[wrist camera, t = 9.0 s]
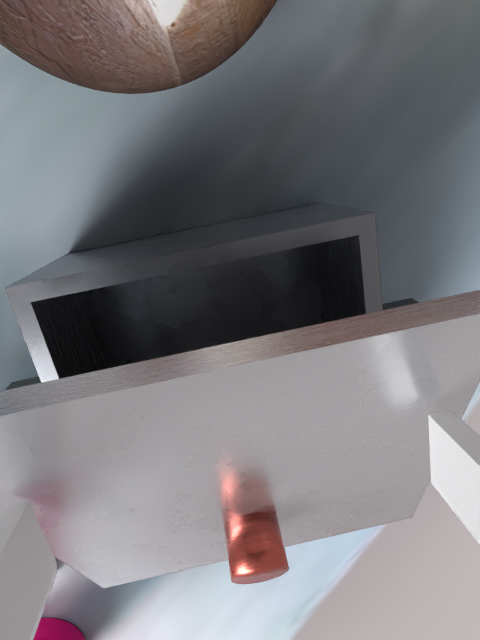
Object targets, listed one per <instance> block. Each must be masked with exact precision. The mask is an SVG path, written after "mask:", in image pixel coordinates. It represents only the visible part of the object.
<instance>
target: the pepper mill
mask: <svg viewBox="0 0 480 640" xmlns="http://www.w3.org/2000/svg"><path fill="white" fill-rule="evenodd" d="M33 640H85V639H84V637H83V634H82V633H81V631H80V630H79V629H78V628H77V627H76V626H74V625H73V624H71V623H69V622H67V621H64V620H61V619H54V618H41V619H40V622H39V625H38V628H37V630H36V633H35V636H34V639H33Z"/></svg>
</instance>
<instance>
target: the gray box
mask: <svg viewBox="0 0 480 640" xmlns="http://www.w3.org/2000/svg"><path fill="white" fill-rule="evenodd" d="M5 290H6V292H7V295H8V297H9V300H10V303H11V305H12V308H13V310H14V313H15V315H16V318H17V321H18V323H19V326H20V328H21V331H22V334H23V336H24V339H25V341H26V344H27V346H28V349H29V352H30V354H31V357H32V359H33V362H34V365H35V367H36V370H37V372H38V375H39V377H35V378H30V379H25V380H21V381H16V382H12V383H11V384H10V385H9V386H8V387H7V388H6V390H9V389H14V388H18V387H23V386H28V385H33V384H37V383H42V382H47V381H51V380H56V379H61V378H66V377H70V376H75V375H80V374H85V373H89V372H94V371H99V370H103V369H108V368H113V367H118V366H122V365H127V364H132V363H137V362H141V361H146V360H151V359H156V358H160V357H165V356H170V355H174V354H179V353H184V352H189V351H193V350H198V349H203V348H208V347H212V346H217V345H222V344H226V343H231V342H236V341H241V340H245V339H250V338H255V337H260V336H264V335H269V334H274V333H279V332H283V331H288V330H293V329H297V328H302V327H307V326H312V325H316V324H321V323H326V322H331V321H335V320H340V319H345V318H349V317H354V316H359V315H364V314H368V313H373V312H378V311H383V310H387V309H392V308H397V307H402V306H406V305H411V304H416V303H419V302H417V301H415V300H413V299H411V298H410V299H405V300H400V301H395V302H391V303H386V304H382V295H381V282H380V268H379V255H378V242H377V229H376V216H375V213H374V212H368V211H362V210H356V209H350V208H344V207H338V206H332V205H326V204H321V203H315V204H310V205H306V206H301V207H296V208H291V209H286V210H281V211H276V212H271V213H266V214H261V215H256V216H251V217H246V218H241V219H236V220H231V221H226V222H221V223H216V224H211V225H206V226H201V227H196V228H191V229H186V230H181V231H176V232H171V233H167V234H162V235H157V236H152V237H147V238H142V239H137V240H132V241H127V242H122V243H117V244H112V245H107V246H102V247H97V248H92V249H87V250H82V251H77V252H72V253H68V254H66V255H64V256H62V257H61V258H59V259H57V260H55V261H53V262H51V263H50V264H48V265H46V266H44V267H42V268H40V269H39V270H37V271H35V272H33V273H31V274H30V275H28V276H26V277H24V278H22V279H20V280H19V281H17V282H15V283H13V284H11V285H9V286H8V287H6V288H5Z"/></svg>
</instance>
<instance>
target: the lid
mask: <svg viewBox="0 0 480 640" xmlns="http://www.w3.org/2000/svg"><path fill="white" fill-rule="evenodd" d="M479 382H480V290H477V291H472V292H468V293H463V294H458V295H454V296H449V297H444V298H439V299H435V300H430V301H425V302H420V303H416V304H411V305H406V306H402V307H397V308H392V309H387V310H383V311H378V312H373V313H368V314H364V315H359V316H354V317H349V318H345V319H340V320H335V321H331V322H326V323H321V324H316V325H312V326H307V327H302V328H297V329H293V330H288V331H283V332H279V333H274V334H269V335H264V336H260V337H255V338H250V339H245V340H241V341H236V342H231V343H226V344H222V345H217V346H212V347H208V348H203V349H198V350H193V351H189V352H184V353H179V354H174V355H170V356H165V357H160V358H156V359H151V360H146V361H141V362H137V363H132V364H127V365H122V366H118V367H113V368H108V369H103V370H99V371H94V372H89V373H85V374H80V375H75V376H70V377H66V378H61V379H56V380H51V381H47V382H42V383H37V384H33V385H28V386H23V387H18V388H14V389H9V390H4V391H0V514H1V512H2V511H3V509H4V507H5V506H6V505H11V504H15V503H20V502H25V501H29V500H30V503H31V505H32V507H33V510H34V512H35V514H36V517H37V519H38V521H39V524H40V526H41V528H42V530H43V533H44V535H45V537H46V540H47V542H48V544H49V547H50V549H51V551H52V554H53V556H54V557H56V558H57V559H59V560H60V561H62V562H63V563H65V564H67V565H68V566H70V567H71V568H73V569H74V570H76V571H77V572H79V573H81V574H82V575H84V576H85V577H87V578H88V579H90V580H91V581H93V582H94V583H96V584H98V585H99V586H101V587H102V588H108V587H112V586H117V585H121V584H125V583H130V582H134V581H138V580H143V579H147V578H152V577H156V576H160V575H165V574H169V573H173V572H178V571H182V570H186V569H191V568H195V567H200V566H204V565H208V564H213V563H217V562H221V561H226V560H229V566H230V573H231V580H232V582H233V583H236V584H252V583H258V582H263V581H267V580H270V579H273V578H276V577H278V576H281V575H282V574H284V573H286V572H287V571H288V569H289V566H288V562H287V558H286V553H285V549H284V547H287V546H291V545H296V544H300V543H304V542H309V541H313V540H317V539H322V538H326V537H331V536H335V535H339V534H344V533H348V532H352V531H357V530H361V529H365V528H370V527H374V526H379V525H383V524H387V523H392V522H396V521H400V520H404V519H409V518H412V517H413V515H414V513H415V511H416V508H417V506H418V505H419V503H420V501H421V499H422V497H423V495H424V493H425V491H426V489H427V487H428V485H429V482H430V481H431V469H430V444H429V420H428V415H429V414H434V413H439V412H443V411H448V410H451V411H453V412H454V413H455V414H456V415H457V416H458V417H459V418H460V419H461V418H462V416H463V414H464V412H465V410H466V408H467V406H468V404H469V402H470V400H471V398H472V396H473V394H474V392H475V390H476V388H477V386H478V384H479Z"/></svg>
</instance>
